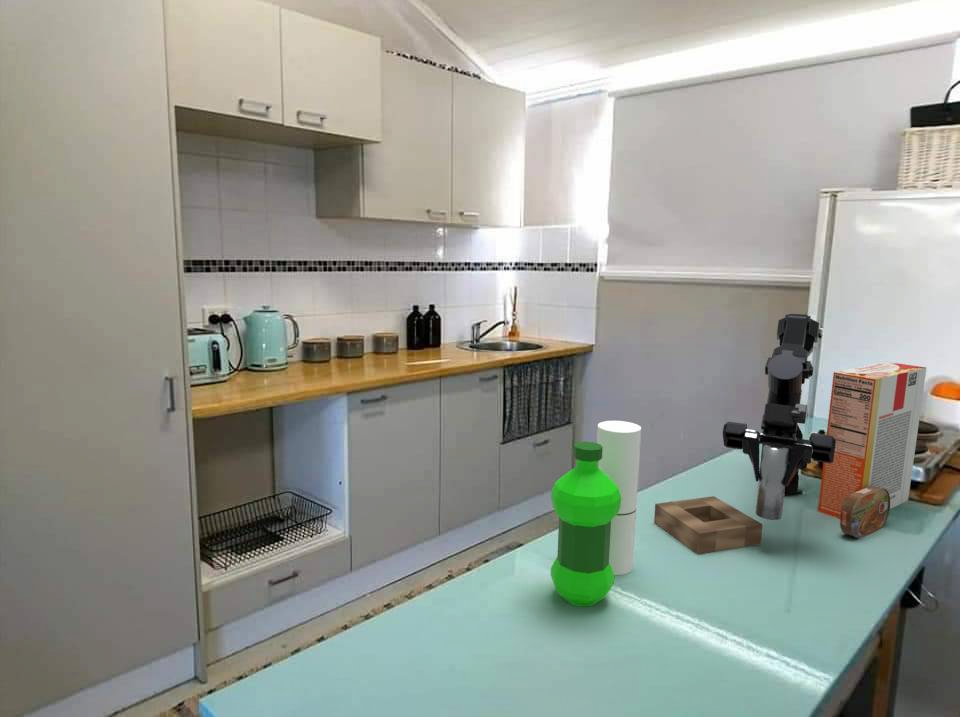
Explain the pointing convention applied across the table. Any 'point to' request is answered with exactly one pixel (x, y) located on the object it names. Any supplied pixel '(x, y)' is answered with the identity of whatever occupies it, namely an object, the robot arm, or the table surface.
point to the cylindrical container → (621, 486)
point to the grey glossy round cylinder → (772, 481)
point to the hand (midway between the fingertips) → (771, 482)
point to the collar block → (707, 524)
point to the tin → (864, 511)
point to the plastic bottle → (584, 528)
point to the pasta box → (872, 432)
